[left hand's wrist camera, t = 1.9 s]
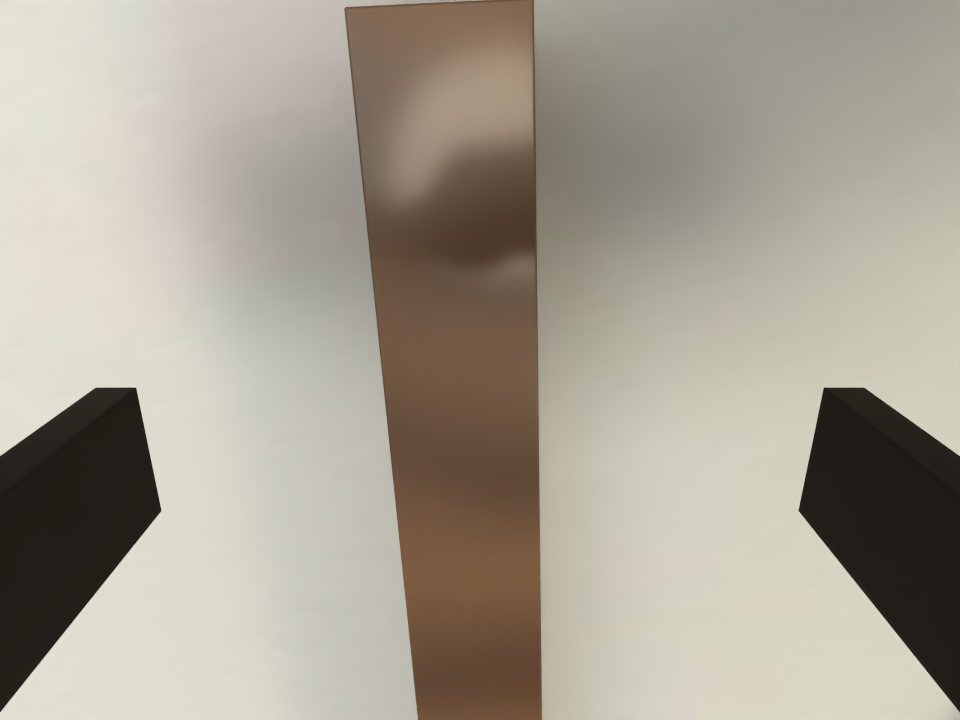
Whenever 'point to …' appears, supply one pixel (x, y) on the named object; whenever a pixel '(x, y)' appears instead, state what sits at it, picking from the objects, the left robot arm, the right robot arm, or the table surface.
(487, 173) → the bar
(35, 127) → the table surface
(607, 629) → the table surface
